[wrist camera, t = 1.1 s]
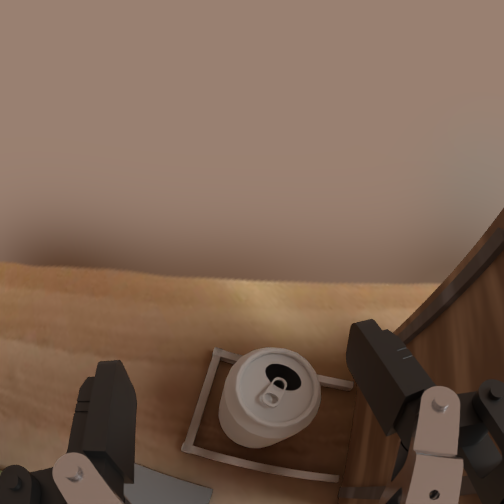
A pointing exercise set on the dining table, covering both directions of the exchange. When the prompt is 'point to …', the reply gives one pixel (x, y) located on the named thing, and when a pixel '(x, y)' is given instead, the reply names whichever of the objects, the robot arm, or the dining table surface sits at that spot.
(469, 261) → the wooden stand
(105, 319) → the dining table surface
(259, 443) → the can
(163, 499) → the slate board
